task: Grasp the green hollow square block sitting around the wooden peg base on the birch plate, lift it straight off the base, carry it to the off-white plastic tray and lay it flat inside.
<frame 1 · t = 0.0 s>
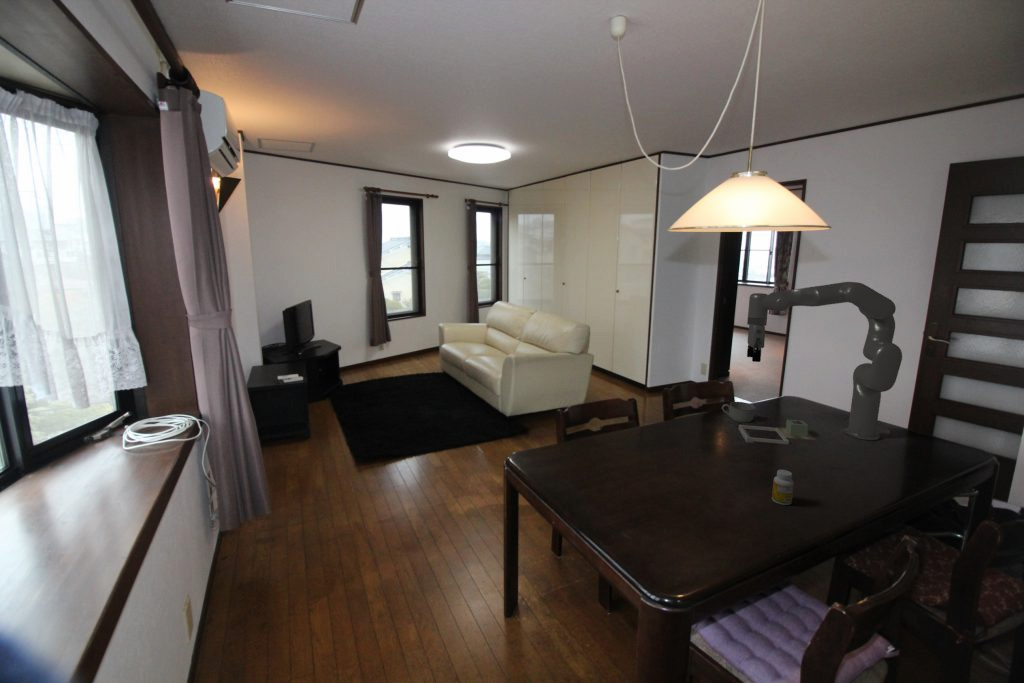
hand: (753, 359, 202), 31 cm above the table, fingers open, 9 cm apart
tray: (762, 437, 193), on the table
teacup: (737, 421, 214), on the table
supplement bottle: (781, 501, 142), on the table
green hollow square block: (796, 433, 195), point 1 cm above the table, touching wooden peg base
wooden peg base: (795, 435, 195), on the table
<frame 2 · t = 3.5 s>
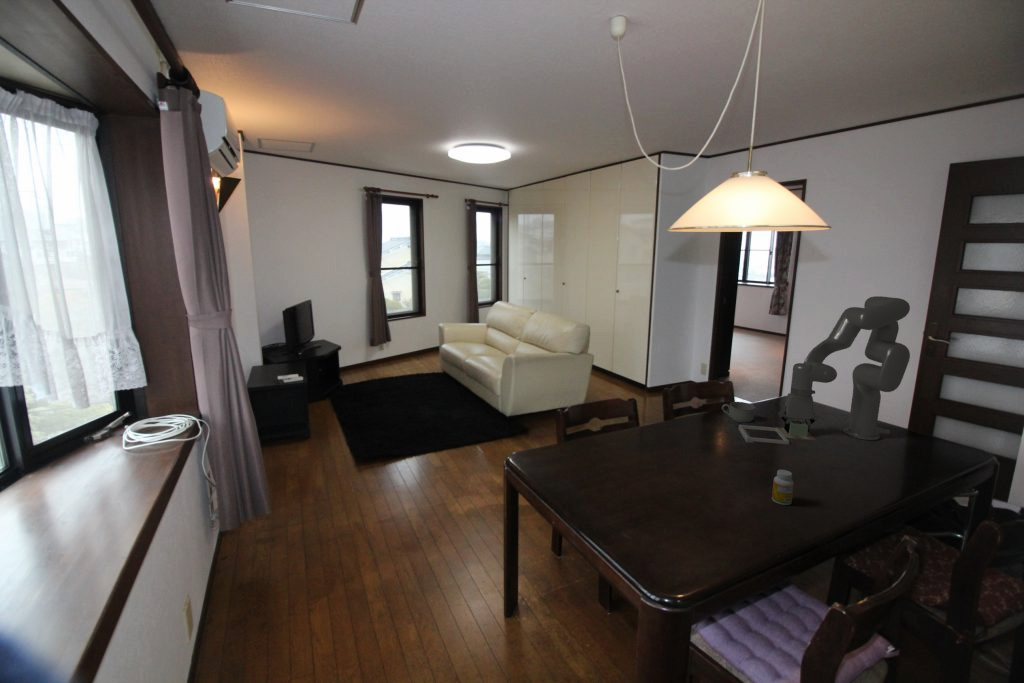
hand: (796, 432, 195), 2 cm above the table, fingers closed on green hollow square block, 6 cm apart
green hollow square block: (796, 433, 195), point 1 cm above the table, touching gripper, wooden peg base
everything else where it was.
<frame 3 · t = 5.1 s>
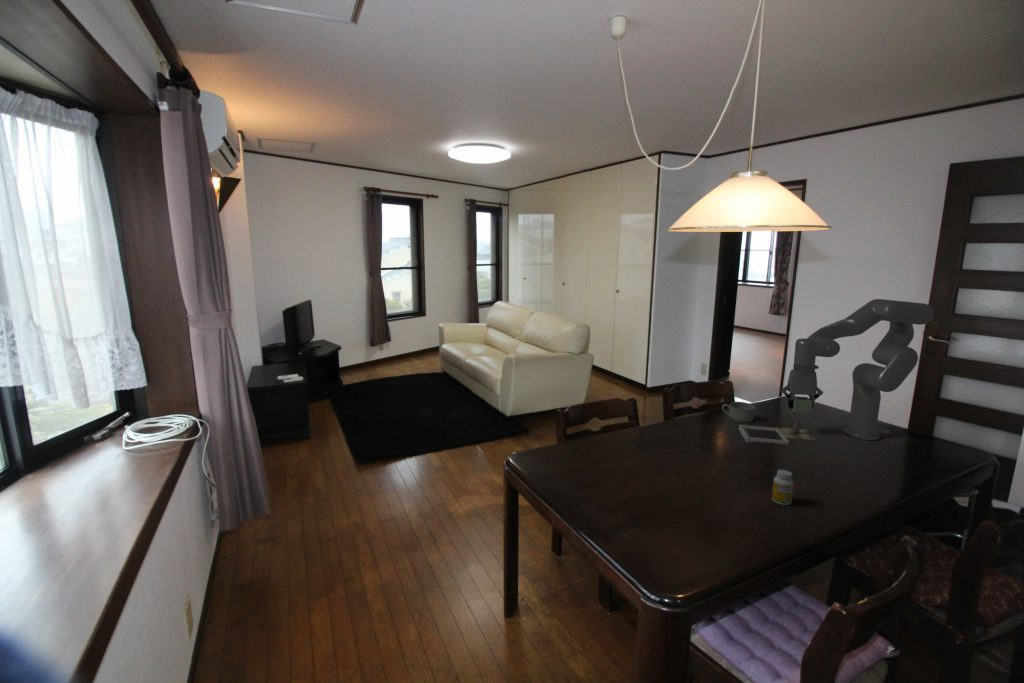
hand: (800, 408, 193), 12 cm above the table, fingers closed on green hollow square block, 6 cm apart
green hollow square block: (800, 410, 193), point 12 cm above the table, touching gripper
everything else where it was.
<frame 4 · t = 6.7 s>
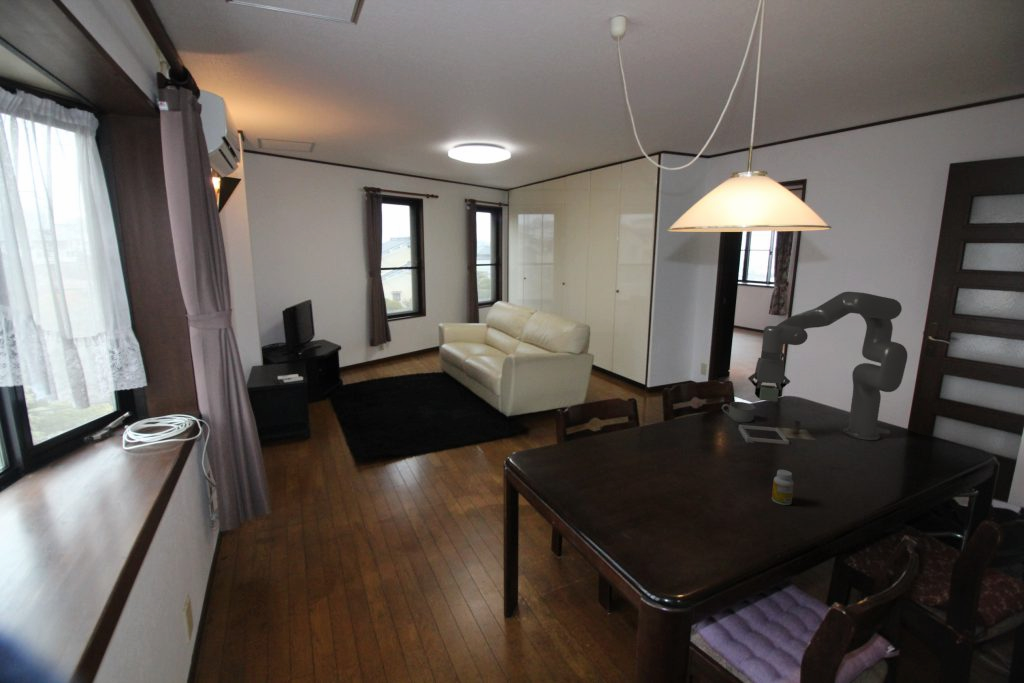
hand: (766, 397, 190), 18 cm above the table, fingers closed on green hollow square block, 6 cm apart
green hollow square block: (766, 398, 190), point 17 cm above the table, touching gripper
everything else where it was.
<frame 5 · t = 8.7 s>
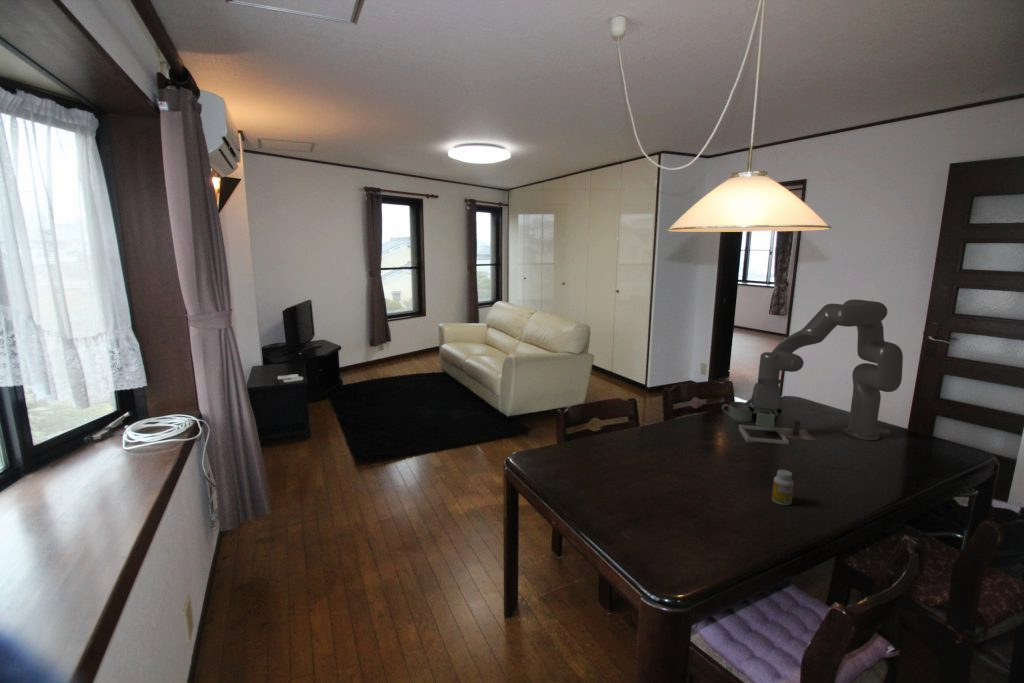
hand: (763, 422, 192), 7 cm above the table, fingers closed on green hollow square block, 6 cm apart
green hollow square block: (763, 423, 192), point 6 cm above the table, touching gripper
everything else where it was.
when the fingers open (2 cm above the table, at t = 10.2 s): green hollow square block stays where it is, resting on tray.
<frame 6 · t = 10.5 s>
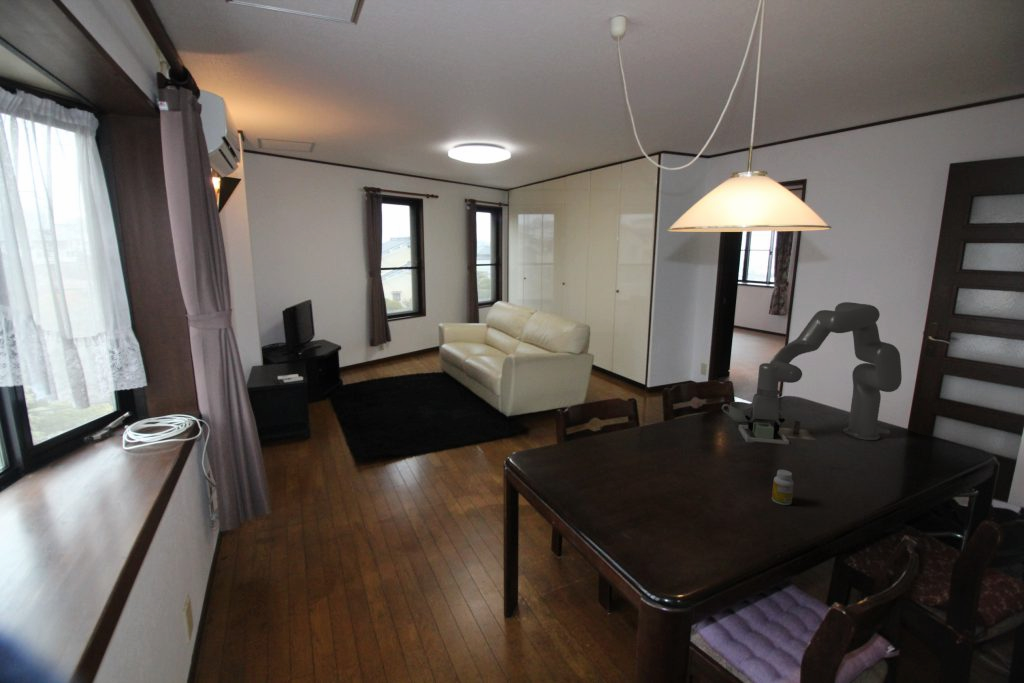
hand: (763, 431, 193), 3 cm above the table, fingers open, 9 cm apart
green hollow square block: (762, 436, 193), point 1 cm above the table, touching tray
everything else where it was.
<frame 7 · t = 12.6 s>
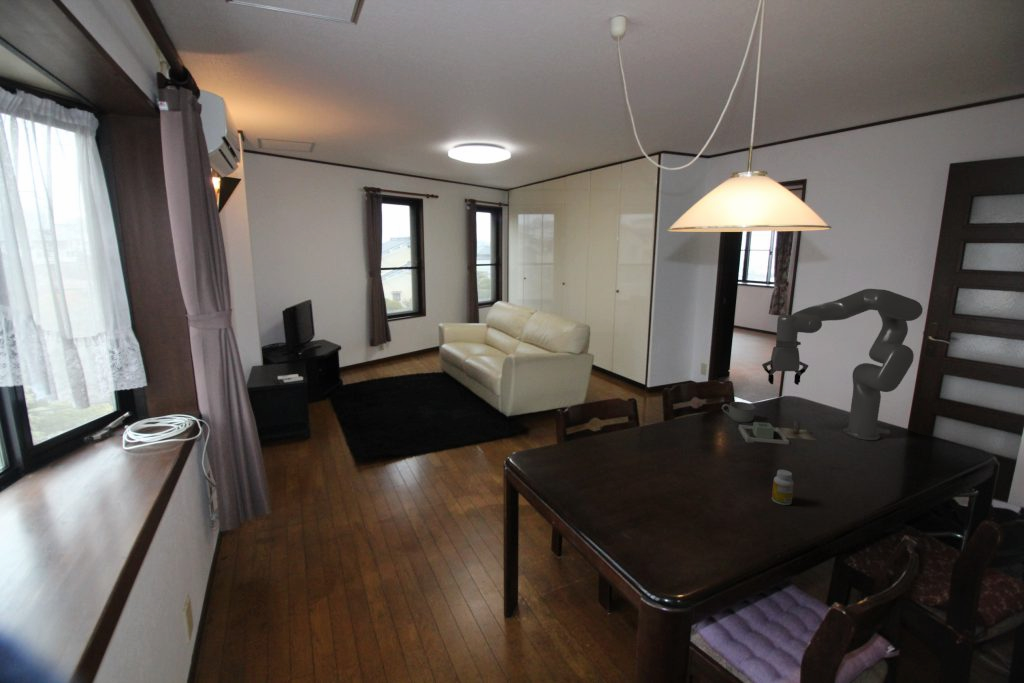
hand: (783, 383, 193), 23 cm above the table, fingers open, 9 cm apart
nothing on the table moved.
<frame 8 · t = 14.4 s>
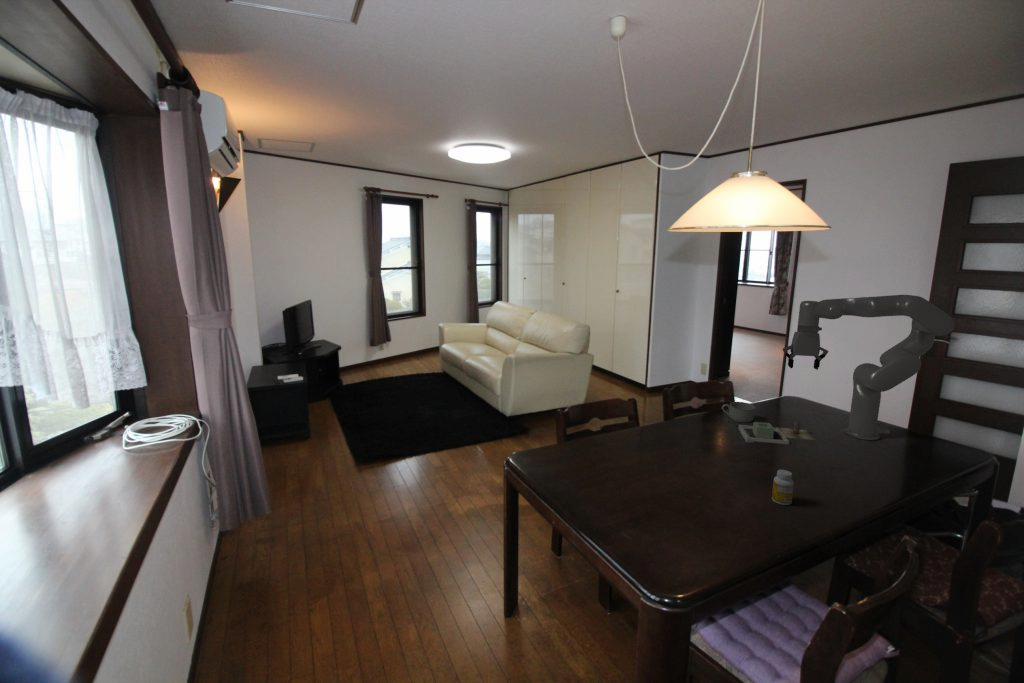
hand: (803, 368, 197), 28 cm above the table, fingers open, 9 cm apart
nothing on the table moved.
at the end: green hollow square block inside the target area on the tray (0.0 cm from its centre), point 0.6 cm above the tray's base; green hollow square block tilted 0°; the gripper is holding nothing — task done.
